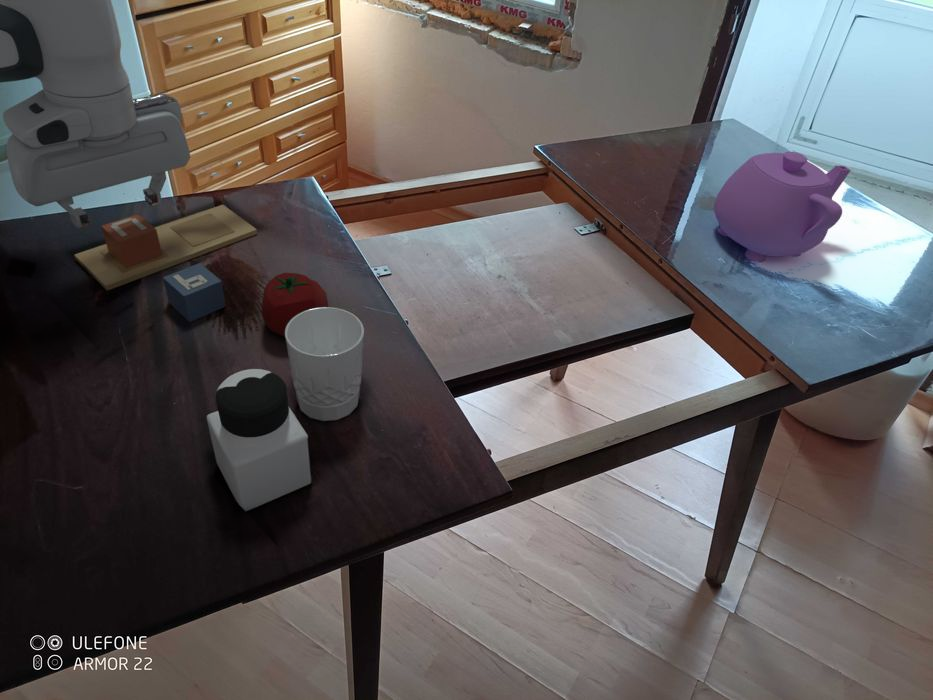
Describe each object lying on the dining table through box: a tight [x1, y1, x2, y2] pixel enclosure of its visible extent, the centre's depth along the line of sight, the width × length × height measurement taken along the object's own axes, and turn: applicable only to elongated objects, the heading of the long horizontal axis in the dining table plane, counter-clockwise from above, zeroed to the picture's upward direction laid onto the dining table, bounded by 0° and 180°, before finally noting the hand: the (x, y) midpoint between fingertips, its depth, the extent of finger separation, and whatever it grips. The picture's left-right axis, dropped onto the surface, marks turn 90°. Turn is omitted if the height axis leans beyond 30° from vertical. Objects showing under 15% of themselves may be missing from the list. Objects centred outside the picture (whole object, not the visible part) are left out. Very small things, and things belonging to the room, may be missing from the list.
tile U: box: [100, 213, 162, 268], centre depth 91 cm, size 5×5×4 cm
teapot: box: [713, 151, 852, 263], centre depth 106 cm, size 20×20×15 cm
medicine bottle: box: [206, 368, 313, 512], centre depth 64 cm, size 7×7×12 cm
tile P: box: [162, 262, 227, 323], centre depth 85 cm, size 5×5×4 cm
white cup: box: [284, 306, 365, 422], centre depth 73 cm, size 8×8×10 cm
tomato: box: [261, 272, 329, 338], centre depth 83 cm, size 8×8×7 cm
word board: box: [73, 204, 258, 291], centre depth 95 cm, size 9×22×1 cm, turn 136°
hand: (118, 213), depth 88 cm, fingers open, 8 cm apart
